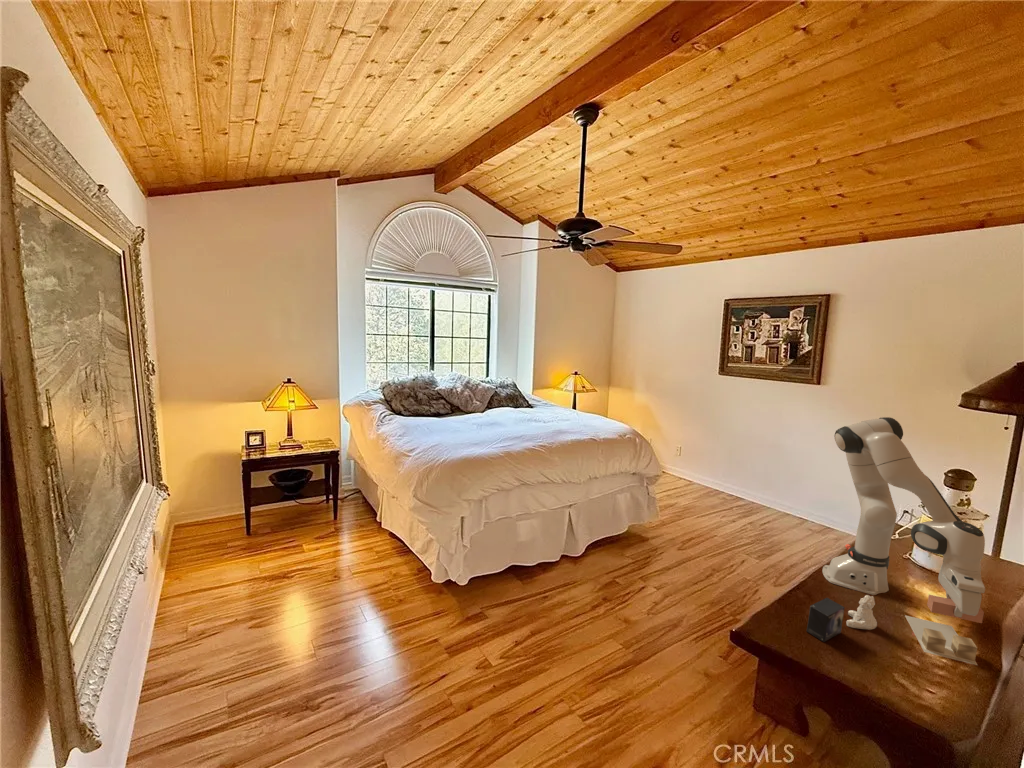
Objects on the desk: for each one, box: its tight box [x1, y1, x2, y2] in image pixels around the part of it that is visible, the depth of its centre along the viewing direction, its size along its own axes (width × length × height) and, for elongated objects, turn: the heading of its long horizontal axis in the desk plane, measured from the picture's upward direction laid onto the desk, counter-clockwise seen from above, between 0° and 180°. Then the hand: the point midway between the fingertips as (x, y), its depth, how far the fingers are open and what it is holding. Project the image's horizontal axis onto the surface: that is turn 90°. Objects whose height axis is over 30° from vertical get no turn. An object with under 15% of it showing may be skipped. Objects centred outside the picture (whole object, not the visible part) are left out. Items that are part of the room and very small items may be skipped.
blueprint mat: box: [904, 614, 979, 666], centre depth 160 cm, size 14×20×1 cm, turn 154°
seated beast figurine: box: [845, 594, 878, 631], centre depth 166 cm, size 10×9×12 cm
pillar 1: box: [922, 628, 946, 654], centre depth 155 cm, size 4×4×5 cm
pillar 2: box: [951, 635, 978, 661], centre depth 152 cm, size 4×4×5 cm
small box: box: [806, 597, 845, 643], centre depth 162 cm, size 11×6×10 cm, turn 117°
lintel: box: [926, 594, 985, 624], centre depth 151 cm, size 4×12×4 cm, turn 64°
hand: (953, 610), depth 151 cm, fingers closed on lintel, 4 cm apart
